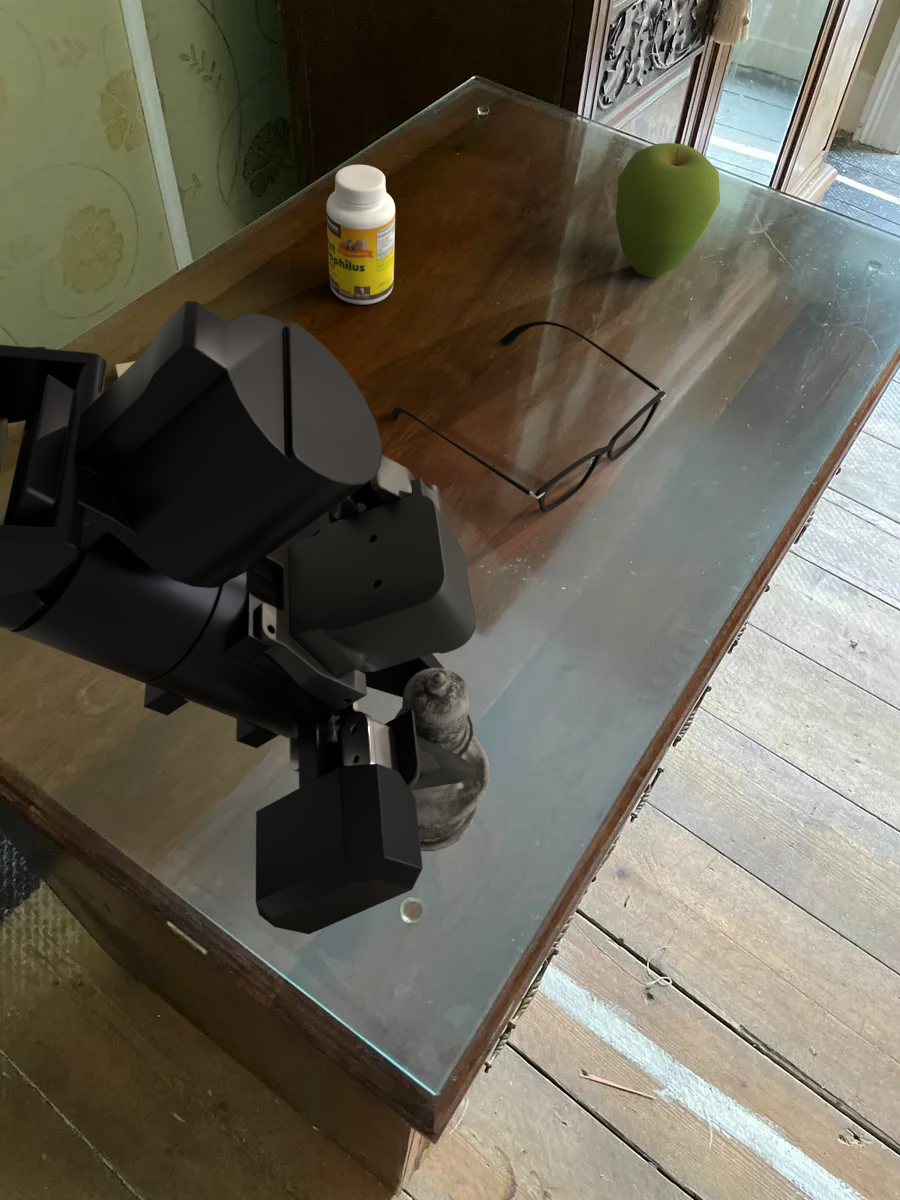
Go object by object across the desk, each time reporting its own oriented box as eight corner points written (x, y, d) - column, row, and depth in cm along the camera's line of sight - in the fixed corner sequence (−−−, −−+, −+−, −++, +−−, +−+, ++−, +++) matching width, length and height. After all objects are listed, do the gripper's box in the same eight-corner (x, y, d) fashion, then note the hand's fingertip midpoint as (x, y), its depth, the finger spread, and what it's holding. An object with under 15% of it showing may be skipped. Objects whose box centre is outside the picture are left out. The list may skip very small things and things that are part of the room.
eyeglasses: (532, 538, 67) (539, 499, 64) (373, 426, 73) (373, 385, 70) (666, 426, 75) (678, 386, 71) (513, 332, 81) (518, 292, 77)
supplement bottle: (316, 289, 83) (309, 177, 74) (358, 262, 85) (356, 150, 77) (365, 316, 81) (364, 204, 73) (407, 287, 84) (410, 176, 75)
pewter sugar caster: (349, 774, 49) (345, 641, 39) (452, 734, 51) (472, 598, 41) (393, 876, 46) (401, 759, 36) (502, 830, 48) (536, 707, 38)
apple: (586, 277, 86) (610, 153, 77) (622, 234, 91) (650, 111, 81) (675, 311, 84) (711, 186, 75) (708, 264, 88) (746, 142, 79)
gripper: (350, 756, 24) (665, 880, 34) (322, 298, 35) (567, 495, 45) (93, 896, 29) (433, 967, 39) (140, 460, 40) (396, 603, 50)
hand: (462, 737), depth 43 cm, fingers closed on pewter sugar caster, 3 cm apart
